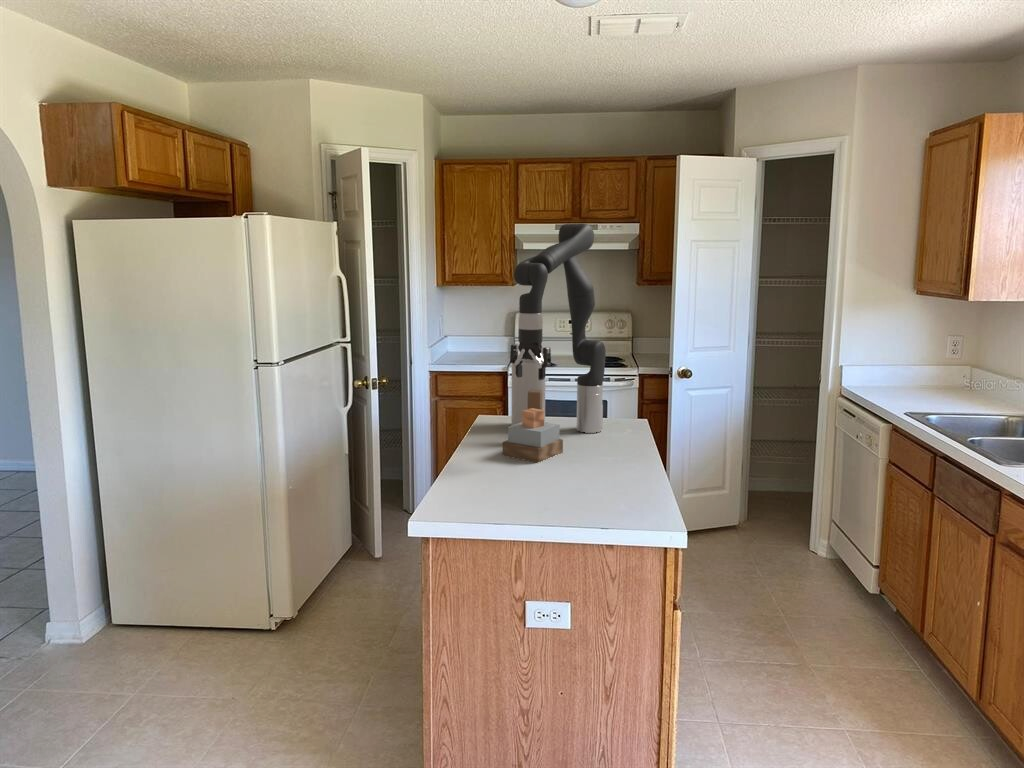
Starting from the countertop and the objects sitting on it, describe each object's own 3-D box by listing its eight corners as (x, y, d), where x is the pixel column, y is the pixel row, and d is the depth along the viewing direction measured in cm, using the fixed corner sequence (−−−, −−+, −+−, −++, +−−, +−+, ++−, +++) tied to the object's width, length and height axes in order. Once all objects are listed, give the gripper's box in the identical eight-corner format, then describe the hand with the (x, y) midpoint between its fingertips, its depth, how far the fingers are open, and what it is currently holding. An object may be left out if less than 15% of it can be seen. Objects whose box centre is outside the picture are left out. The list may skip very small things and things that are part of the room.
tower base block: (527, 447, 249) (527, 433, 248) (562, 454, 240) (562, 439, 240) (502, 456, 237) (502, 441, 237) (538, 464, 229) (538, 448, 228)
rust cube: (532, 423, 240) (532, 408, 239) (544, 425, 237) (544, 410, 236) (522, 425, 237) (521, 410, 236) (533, 428, 233) (533, 412, 233)
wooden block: (554, 441, 255) (555, 390, 252) (553, 444, 251) (553, 392, 248) (529, 440, 257) (529, 389, 253) (527, 443, 252) (527, 391, 249)
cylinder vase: (550, 425, 278) (551, 360, 274) (534, 432, 268) (534, 364, 263) (522, 421, 285) (522, 357, 280) (505, 428, 274) (505, 361, 270)
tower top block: (527, 434, 246) (527, 419, 245) (559, 439, 240) (559, 424, 239) (508, 442, 236) (508, 426, 235) (540, 447, 230) (540, 431, 229)
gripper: (556, 327, 230) (555, 379, 233) (519, 325, 238) (519, 374, 241) (542, 329, 224) (541, 382, 227) (505, 326, 232) (505, 377, 235)
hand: (530, 378), depth 234 cm, fingers open, 8 cm apart
